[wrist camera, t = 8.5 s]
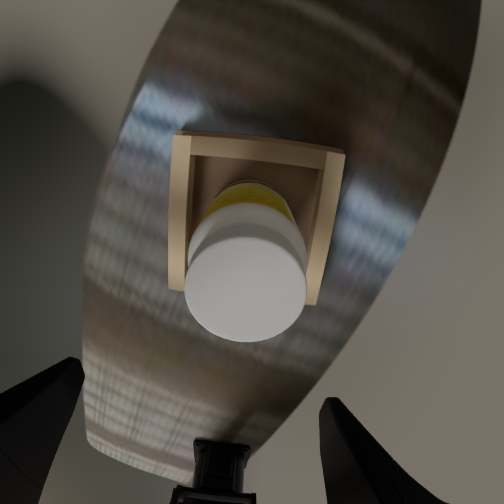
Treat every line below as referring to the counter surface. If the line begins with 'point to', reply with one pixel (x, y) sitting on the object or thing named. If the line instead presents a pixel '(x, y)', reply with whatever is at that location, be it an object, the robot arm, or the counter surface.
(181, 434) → the counter surface
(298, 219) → the jig cradle
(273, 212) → the supplement bottle
